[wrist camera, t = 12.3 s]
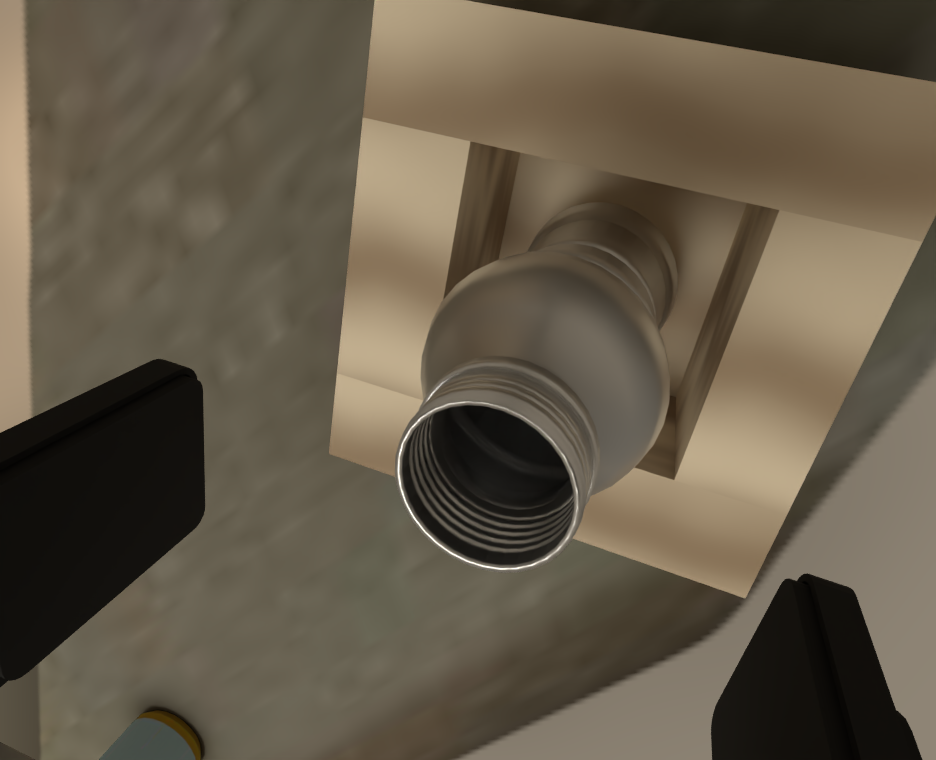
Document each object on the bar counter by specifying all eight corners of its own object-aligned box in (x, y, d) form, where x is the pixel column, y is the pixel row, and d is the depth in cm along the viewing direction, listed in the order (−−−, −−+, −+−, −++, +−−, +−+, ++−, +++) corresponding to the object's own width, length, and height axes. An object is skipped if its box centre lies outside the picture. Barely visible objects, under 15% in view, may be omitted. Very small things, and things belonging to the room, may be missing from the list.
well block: (462, 24, 28) (376, -16, 20) (894, 102, 24) (996, 92, 16) (407, 380, 36) (328, 453, 28) (729, 480, 32) (745, 598, 24)
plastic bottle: (578, 360, 31) (443, 668, 13) (510, 240, 30) (263, 404, 12) (704, 300, 28) (742, 590, 11) (633, 165, 27) (544, 239, 9)
